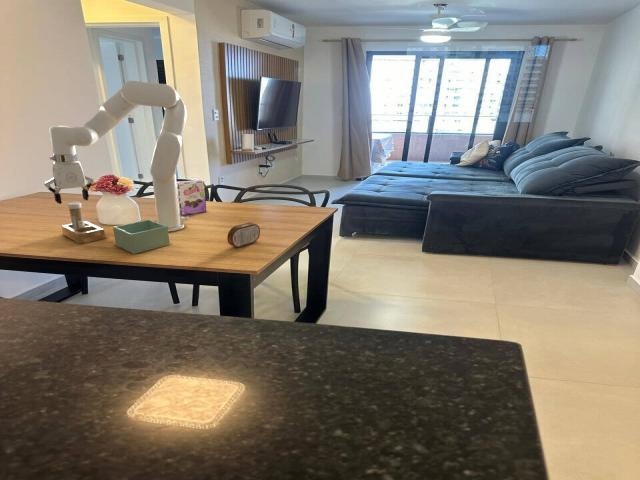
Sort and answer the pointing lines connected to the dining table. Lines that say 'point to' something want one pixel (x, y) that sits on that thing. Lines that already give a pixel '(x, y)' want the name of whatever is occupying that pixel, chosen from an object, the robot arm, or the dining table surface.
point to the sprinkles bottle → (76, 214)
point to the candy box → (191, 197)
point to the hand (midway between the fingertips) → (72, 201)
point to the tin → (243, 234)
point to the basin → (141, 236)
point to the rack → (84, 233)
